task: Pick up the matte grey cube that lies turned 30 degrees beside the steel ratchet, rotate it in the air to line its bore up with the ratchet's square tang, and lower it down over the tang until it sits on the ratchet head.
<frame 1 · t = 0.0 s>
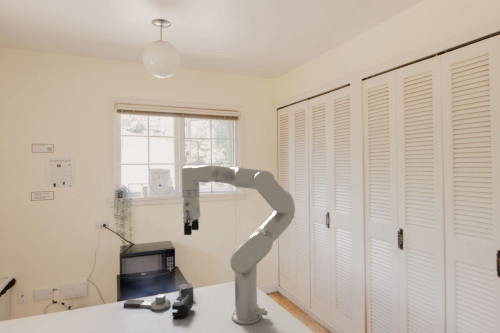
hand: (191, 232, 133), 37 cm above the table, tool pointing down, fingers open, 9 cm apart
end cap: (183, 314, 133), on the table
matte grey cube: (186, 298, 150), on the table
ratchet: (160, 306, 141), on the table
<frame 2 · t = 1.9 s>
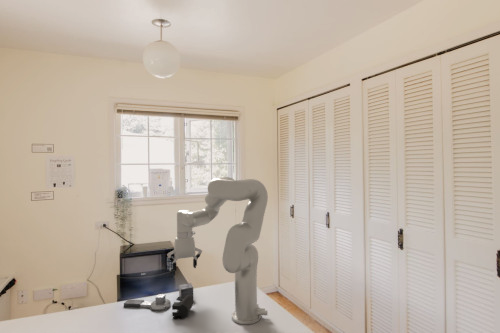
hand: (184, 268, 150), 15 cm above the table, tool pointing down, fingers open, 9 cm apart
nothing on the table moved.
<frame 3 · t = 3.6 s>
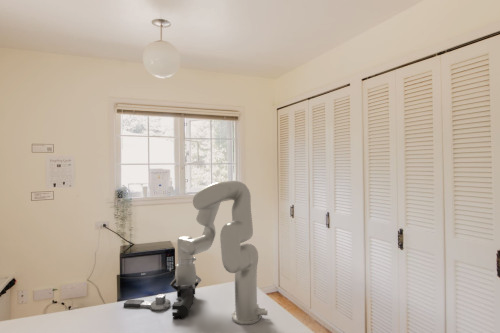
hand: (186, 296, 150), 1 cm above the table, tool pointing down, fingers closed on matte grey cube, 6 cm apart
matte grey cube: (186, 298, 150), on the table, touching gripper
everything else where it was.
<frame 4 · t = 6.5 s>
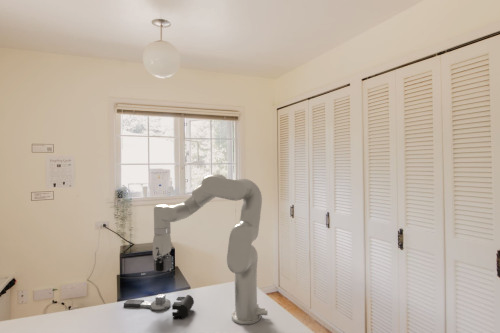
hand: (163, 268, 142), 18 cm above the table, tool pointing down, fingers closed on matte grey cube, 6 cm apart
matte grey cube: (163, 269, 142), point 17 cm above the table, touching gripper
everything else where it was.
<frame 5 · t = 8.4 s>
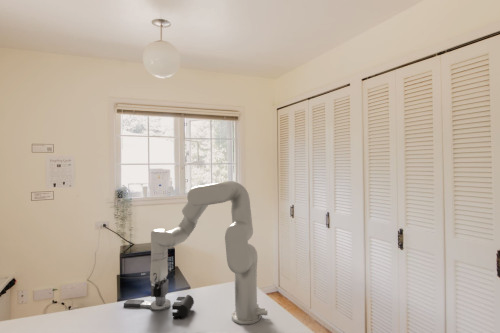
hand: (160, 293, 141), 6 cm above the table, tool pointing down, fingers closed on matte grey cube, 6 cm apart
matte grey cube: (160, 294, 141), point 6 cm above the table, touching gripper
everything else where it was.
when the fingers open (3 cm above the table, at t = 9.6 s): matte grey cube stays where it is, resting on ratchet.
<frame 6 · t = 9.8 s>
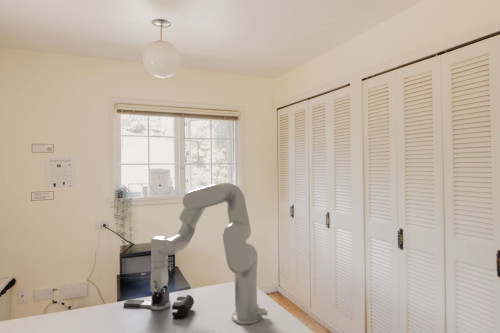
hand: (160, 299, 141), 3 cm above the table, tool pointing down, fingers open, 8 cm apart
matte grey cube: (160, 303, 141), point 2 cm above the table, touching ratchet
everything else where it was.
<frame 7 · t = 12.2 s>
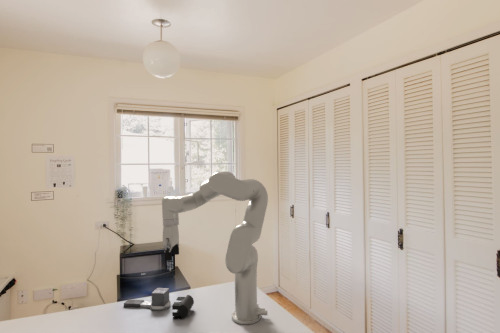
hand: (172, 257, 144), 22 cm above the table, tool pointing down, fingers open, 9 cm apart
nothing on the table moved.
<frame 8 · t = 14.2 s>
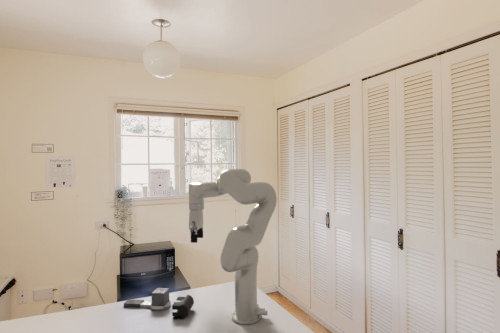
hand: (197, 239, 153), 28 cm above the table, tool pointing down, fingers open, 9 cm apart
nothing on the table moved.
at the end: matte grey cube 0.0 cm off-centre on the ratchet, point 1.6 cm above the ratchet's base; matte grey cube tilted 0°; the gripper is holding nothing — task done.
